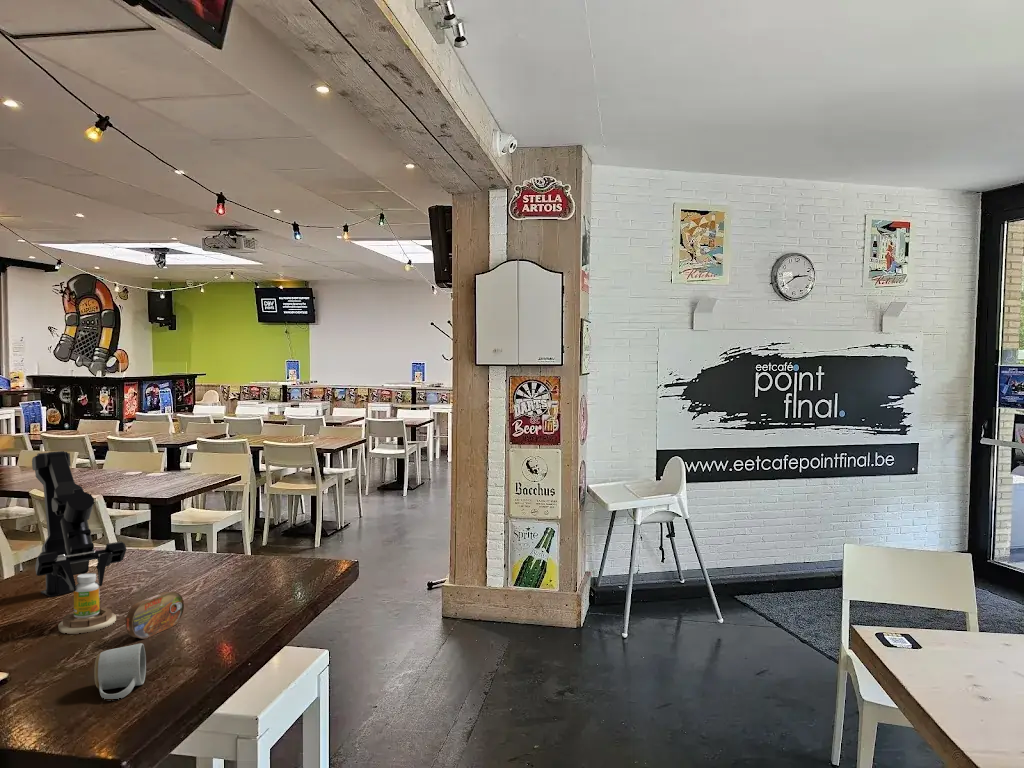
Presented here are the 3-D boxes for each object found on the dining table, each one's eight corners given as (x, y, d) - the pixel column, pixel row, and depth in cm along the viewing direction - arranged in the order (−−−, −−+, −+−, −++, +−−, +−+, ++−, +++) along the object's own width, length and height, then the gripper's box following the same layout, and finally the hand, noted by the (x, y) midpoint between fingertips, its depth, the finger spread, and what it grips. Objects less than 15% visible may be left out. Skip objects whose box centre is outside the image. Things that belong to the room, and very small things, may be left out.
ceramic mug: (100, 681, 141) (99, 643, 141) (146, 674, 144) (145, 637, 144) (89, 706, 131) (88, 665, 131) (139, 698, 134) (138, 658, 134)
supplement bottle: (75, 620, 168) (75, 579, 168) (72, 614, 172) (71, 574, 172) (101, 615, 172) (101, 575, 171) (97, 609, 176) (97, 570, 176)
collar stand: (49, 626, 171) (49, 616, 171) (101, 612, 180) (101, 602, 180) (72, 637, 164) (72, 627, 164) (125, 622, 173) (125, 612, 173)
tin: (133, 644, 160) (132, 607, 160) (123, 642, 161) (122, 605, 161) (185, 621, 174) (184, 587, 174) (175, 620, 175) (175, 586, 175)
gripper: (112, 545, 189) (124, 596, 182) (28, 558, 177) (38, 614, 169) (120, 521, 183) (133, 573, 176) (34, 533, 171) (44, 589, 163)
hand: (88, 587), depth 171 cm, fingers closed on supplement bottle, 5 cm apart
